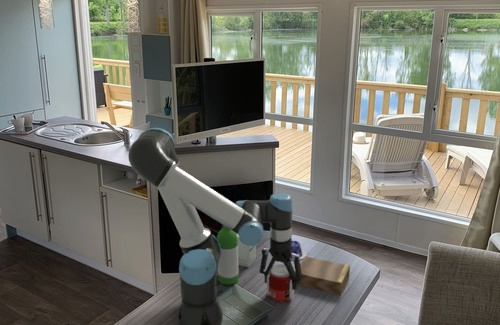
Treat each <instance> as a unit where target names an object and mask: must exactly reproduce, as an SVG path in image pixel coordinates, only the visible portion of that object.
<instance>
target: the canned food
mask: <svg viewBox="0 0 500 325" xmlns="http://www.w3.org/2000/svg"><path fill="white" fill-rule="evenodd" d="M290 281H291V278H290V275H289V273H288V271H287V268H286V266H285V265H284V264H274V265H273V266H272V268H271V269H270V271H269V293H268V294H269V297H270V298H271V300H273V301H274V302H277V303H283V302H284V303H285V302H288V301H289V300H290V299H291V298H290Z"/></svg>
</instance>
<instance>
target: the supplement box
mask: <svg viewBox="0 0 500 325" xmlns="http://www.w3.org/2000/svg"><path fill="white" fill-rule="evenodd" d="M237 237H238V266H240V267H245V268H250V267H251V265H252V264H253V263H254V262H255V261H256V260H257V244H256V245H253V246H248V245H245V244H243V243H242V242H241V241H240V239H239V235H238V234H237Z"/></svg>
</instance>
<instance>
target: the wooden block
mask: <svg viewBox="0 0 500 325" xmlns="http://www.w3.org/2000/svg"><path fill="white" fill-rule="evenodd" d="M300 267H301V273H302V279H301V281H300V282H297V286H300V287H301V286H302V287H305V288H309V289H314V290H318V291H322V292H326V293H330V294H335V295H338V296H342V294H343V292H344V290H345V287H346V286H347V284H348V281H349V279H350V273H351V272H350V271H351V265H350V264H346V263H345V264H343V263H339V262H333V261H329V260H324V259H319V258H314V257H310V256H307V255H306V256H305V257H304V258H302V259H301V261H300Z"/></svg>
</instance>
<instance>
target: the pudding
mask: <svg viewBox="0 0 500 325" xmlns="http://www.w3.org/2000/svg"><path fill="white" fill-rule="evenodd" d="M292 252H293V253H294V254H300V259H299V260H303V259H304V257H305V256H306V257H307V256H308V252H307V250H306V249H305V248H303V247H302V246H301V244H300V242H299V241H297V240H292ZM290 259H291V261H294V260H293V257H290Z"/></svg>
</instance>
